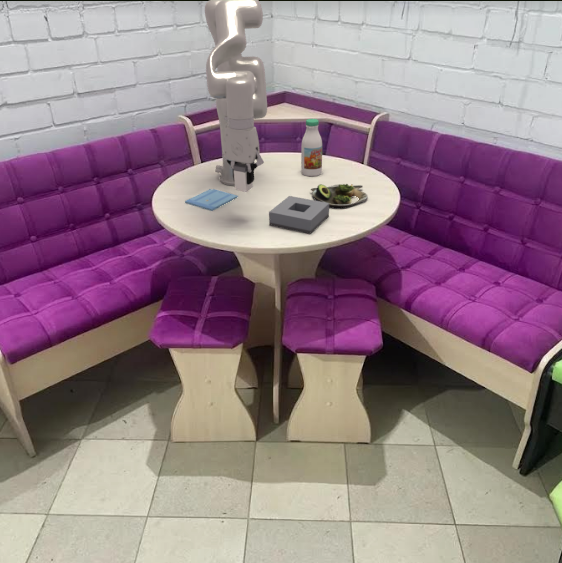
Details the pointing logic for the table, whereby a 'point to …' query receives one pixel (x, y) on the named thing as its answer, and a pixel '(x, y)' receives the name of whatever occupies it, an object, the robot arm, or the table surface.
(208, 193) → the blue striped cloth
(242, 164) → the block
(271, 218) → the block
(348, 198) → the salad plate
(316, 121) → the milk bottle
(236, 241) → the table surface
